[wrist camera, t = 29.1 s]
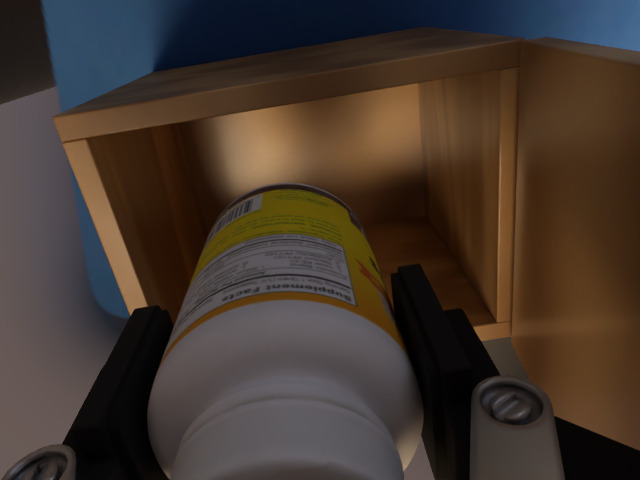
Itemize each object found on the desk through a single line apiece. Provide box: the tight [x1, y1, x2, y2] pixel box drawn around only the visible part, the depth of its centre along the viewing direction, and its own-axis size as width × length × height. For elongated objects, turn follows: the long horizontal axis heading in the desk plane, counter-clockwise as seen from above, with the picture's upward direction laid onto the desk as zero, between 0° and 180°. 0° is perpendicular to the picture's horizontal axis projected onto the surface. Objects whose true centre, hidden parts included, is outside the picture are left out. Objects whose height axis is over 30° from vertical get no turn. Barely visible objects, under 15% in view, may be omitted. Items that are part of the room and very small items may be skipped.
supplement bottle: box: [147, 183, 424, 480], centre depth 12 cm, size 6×6×10 cm
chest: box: [53, 27, 526, 341], centre depth 22 cm, size 15×11×12 cm
